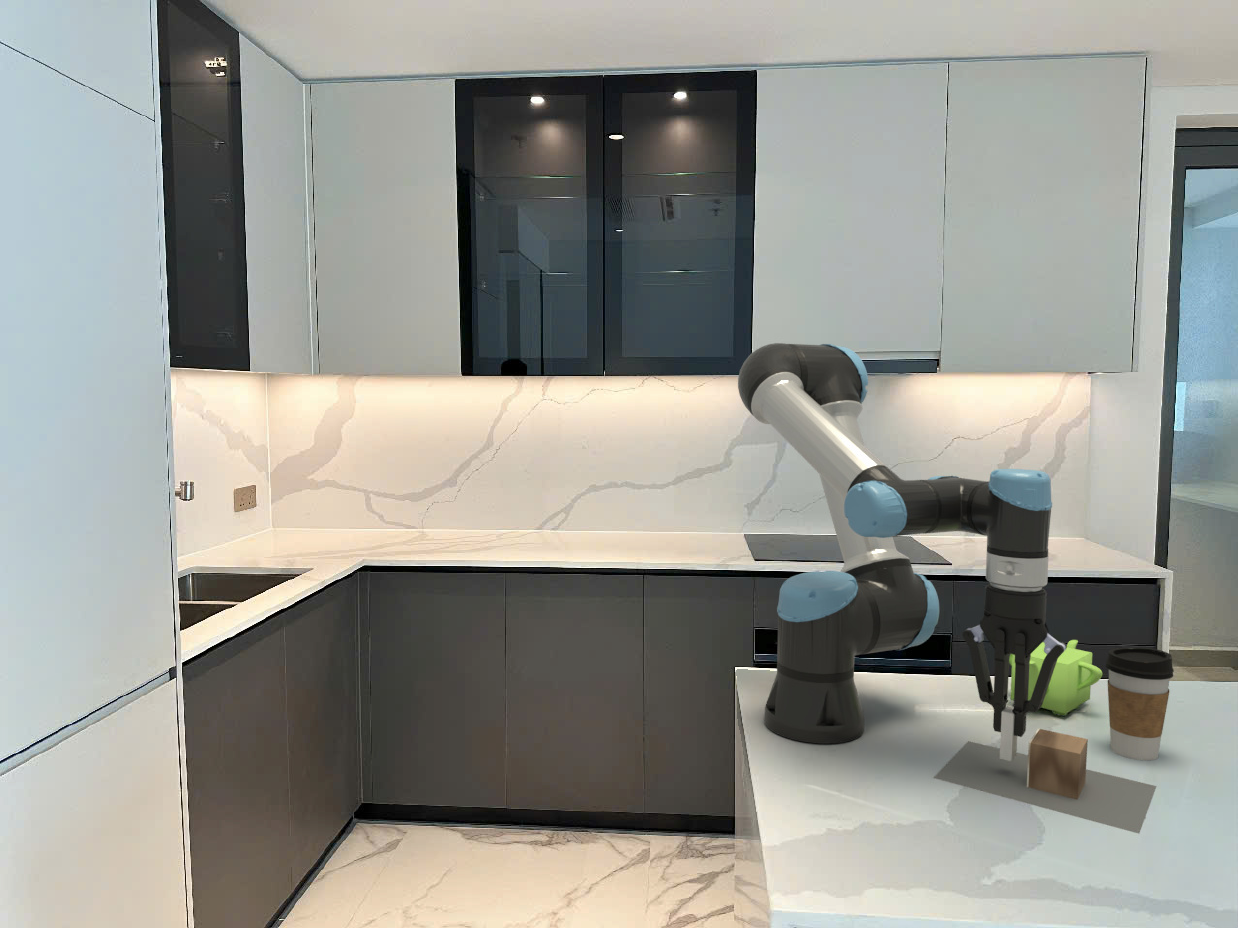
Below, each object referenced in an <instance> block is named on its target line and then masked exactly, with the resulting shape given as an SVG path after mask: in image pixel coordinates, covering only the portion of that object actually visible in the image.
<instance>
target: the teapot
mask: <svg viewBox="0 0 1238 928" xmlns="http://www.w3.org/2000/svg"><path fill="white" fill-rule="evenodd" d="M1078 642H1079V641H1078V639H1071V640H1069V641H1068V642H1067V644H1066V645H1067V648H1066V650H1065V651H1064V652H1063V653H1062V654H1061V655H1060V656H1059V658H1058V659H1057V662H1056V665H1055V668H1054V671H1053V674H1052V677H1051V680H1050V683H1049V686H1048V689H1047V692H1046V695H1045V698H1044V701H1043V704H1042V706H1041V707H1040V709H1041V708H1042V709H1046V710H1049V711H1052V714H1054V715H1056V714H1059V715H1058V716H1060V715H1065V716H1067V715H1068V713H1070V712H1071V711H1073V710H1074V709H1079V708H1080V706H1081V705H1083V704H1084V703H1086V702H1088V701H1089V700H1091V686H1092V685H1094V684H1096V683H1097V682H1099V681H1100V680H1101V678H1102V677H1103V671H1102V670H1101V668H1099V667H1097V666H1096V665H1093V652H1091V651H1085V650H1081V649H1077V645H1078V644H1079V643H1078ZM1044 647H1045V643H1044V642H1042V643H1041V644H1040V645H1039V646H1038V647H1037V648H1036V649H1035V650H1034V651H1033V652H1032V653H1031V658H1030V664H1029V687H1028V700H1031V697H1032V694H1033V691H1034V688H1035V685H1036V682H1037V679H1038V676H1039V673H1040V670H1041V666H1042V663H1043V661H1044V659H1045V657H1046V655H1047V654H1046V653H1045V652H1044ZM1009 665H1010V666H1011V679H1010V680H1011V682H1010V696H1009V697H1010V700H1011V701H1014V688H1015V655H1013V654H1010V657H1009ZM1078 707H1079V708H1078ZM1066 714H1067V715H1066Z"/></svg>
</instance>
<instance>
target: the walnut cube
mask: <svg viewBox="0 0 1238 928" xmlns="http://www.w3.org/2000/svg"><path fill="white" fill-rule="evenodd" d="M1088 740H1089V739H1088V738H1084V737H1079V736H1075V735H1070V734H1065V733H1061V732H1056V731H1052V730H1047V729H1042V728H1037V729H1036V731H1035V732H1034V735H1033V736H1032V737H1031V738H1030V740H1029V742H1028V754H1027V755H1028V771H1027V787H1029V788H1033V789H1037V790H1041V791H1045V792H1049V793H1053V794H1057V795H1061V796H1065V797H1069V798H1073V799H1077V800H1078V798H1079V796H1080V793H1081V791H1082V789H1083V787H1084V785H1085V779H1086V769H1087V762H1088V761H1087V758H1088V757H1087V756H1088Z"/></svg>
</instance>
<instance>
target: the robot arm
mask: <svg viewBox="0 0 1238 928" xmlns="http://www.w3.org/2000/svg"><path fill="white" fill-rule="evenodd" d="M868 385H869V377H868V372H867V369H866V366H865V364H864V362H863V360H862V359H861V357H860V356H859V355H858V354H857V353H856V352H855V351H854V350H852V349H850V348H848V347H846V346H840V345H834V344H832V343H822V344H802V343H799V344H798V343H783V342H781V343H780V342H779V343H778V342H775V343H769V344H766V345H763V346H760V347H758V348H757V349H755V350H754V351H752V352H751V353H750V355H748V357H747V358H746V359H745V360H744V362H743V363H742V366H741V367H740V369H739V374H738V378H737V390H738V395H739V397H740V400H741V402H742V404H743V405H744V407H745V408H746V409H747V411H748V412H749V413H750V414H751V415H752V416H753V417H754V418H755V419H756V420H757V421H758V422H760V423H762V424H765V425H771V426H772V428H774V430H776V431H777V432H778V434H780V435H781V437H782V438H784V439H785V441H787V442H788V444H789V445H790V446H791V447H792V448H794V450H796V452H797V453H798V454H799V455H800V457H802V458H803V459H804V460H805V461H806V462H807V463H808V464H809V465H810V467H812V468H813V470H815V471H816V472H817V474H819V478H820V481H821V484H822V489H823V492H824V496H825V500H826V503H827V506H828V510H829V514H830V517H831V521H832V524H833V528H834V532H835V534H836V538H837V542H838V545H839V548H840V549H839V550H840V553H841V556H842V559H843V567H842V568H841V570H840V571H838V570H824V571H820V570H814V571H808V572H803V573H799V574H795V575H793V576H790V577H789V578H787V579H786V580H784V581H783V583H782V585H781V587H780V589H779V596H778V604H777V607H776V613H777V615H778V617H777V618H778V619H777V648H776V649H777V653H776V655H777V657H776V659H777V661H776V674H775V678H774V680H773V684H772V685H771V689H770V691H769V694H768V697H767V700H766V702H765V705H764V720H763V721H764V725H765V726H766V728H768V729H769V730H771V731H772V732H773V733H775V734H776V735H779V736H782V737H784V738H788V739H790V740H795V741H798V742H799V741H800V742H803V743H805V742H806V743H813V744H840V743H846V742H849V741H850V742H851V741H853V740H855V739H857V738H859V737H861V736H862V735H863V734H864V731H865V714H864V709H863V707H862V703H861V700H860V697H859V693H858V689H857V687H856V683H855V677H854V676H855V657H856V656H859V655H867V654H874V653H879V652H886V651H893V650H895V651H903V650H905V649H908V648H912V647H917V646H920V645H922V644H924V643H925V642H927V640H929V639H930V637H931V636H932V635H933V634H934V631H935V629H936V628H935V627H936V625H938V622H939V617H940V601H939V597H938V592H937V591H936V588H935V586H934V585H933V583H932V582H931V580H928V579H927V577H926V576H924V575H923V574H920V573H917V572H914V569H913V566H912V563H911V559H910V557H908V555H905V554H903V553H901V552H900V551H898V550H897V548H896V543H895V540H894V538H893V537H898V536H899V537H900V536H910V535H911V536H912V535H921V534H923V535H924V534H927V535H928V534H938V533H939V534H940V533H951V532H963V533H970V534H975V535H976V534H977V535H981V536H986V557H985V558H986V564H985V579H986V581H987V582H989V583H987V584H986V585H985V586H984V605H983V606H984V609H983V610H984V611H983V616H982V617H981V619H980V621H979V624H978V625H976V626H971V627H968V628H967V629H964V631H962V633H961V636H962V637H963V640H964V641H965V643H966V644H967V646H968V648H969V653H970V658H971V662H972V667H973V672H974V676H975V681H976V682H975V683H976V686H977V691H978V697H979V700H980V701H981V702H982V703H987V704H989V705H991V707H992V709H993V719H992V721H993V723H992V724H993V725H992V728H993V730H994V732H997V733H1000V739H999V740H1000V742H999V743H1000V746H999V748H1000V759H1004V760H1008V761H1012V760H1013V759H1014V757H1015V756H1016V754H1017V753H1018V749H1017V748H1018V737H1020V738H1022V737H1023V736H1024V734H1025V733H1026V731H1027V713H1036V712H1038V711H1039V710H1040V709H1041V706H1042V704H1043V701H1044V698H1045V695H1046V692H1047V689H1048V686H1049V683H1050V680H1051V677H1052V674H1053V671H1054V668H1055V665H1056V662H1057V659H1058V658H1059V656H1060V655H1061V654H1062V653H1063V652H1064V651H1065V650H1066V648H1067V644H1066V643H1065V642H1064V641H1058V640H1057V639H1056V638H1054V637H1053V636H1052V635H1051V634H1050V629H1049V627H1048V624H1047V622H1046V619H1047V618H1046V616H1047V614H1046V613H1047V595H1048V593H1047V590H1045V588H1044V587H1045V586H1047V584H1048V580H1049V579H1048V577H1049V574H1048V573H1049V570H1048V569H1049V538H1050V525H1051V518H1052V517H1051V514H1052V508H1053V501H1052V482H1051V477H1050V475H1049V474H1047V472H1045V471H1042V470H1037V469H1022V468H999V469H998V468H997V469H993V470H992V471H991V473H990V474H989V481H987V480H978V479H971V478H965V477H963V478H962V477H959V476H957V475H948V476H947V475H935V476H934V475H933V476H931V477H929V478H928V479H914V480H913V479H912V480H906V479H905V480H904V479H903V478H901V477H899V476H898V475H897V474H896V473H895V472H894V471H892V470H891V468H889V467H888V466H887V465H886V464H885V463H883V462H882V461H881V460H880V459H879V458H878V457H877V456H876V455H875V454H873V452H871V451H870V450H869V449H868V448H867V447H866V446H865V443H864V439H863V435H862V432H861V429H860V427H859V423H858V418H859V416H860V414H861V413H862V411H863V403H864V400H866V397H867V394H868V389H867V388H866V387H867V386H868ZM985 637H986V639H987V640H988V641H989V643H990V645H991V647H992V648H993V649H994V679H993V683H992V679H991V674H990V668H989V665H988V660H987V654H986V651H985V646H984V642H983V641H984V639H985ZM1042 642H1044V643H1045V647H1044V652H1045V653H1046V654H1047V655H1046V657H1045V659H1044V661H1043V663H1042V666H1041V670H1040V673H1039V676H1038V679H1037V682H1036V685H1035V688H1034V691H1033V694H1032V697H1031V700H1028V687H1029V664H1030V658H1031V653H1032V652H1033V651H1034V650H1035V649H1036V648H1037V647H1038V646H1039V645H1040V644H1041V643H1042ZM1010 654H1013V655H1015V688H1014V700H1013V706H1009V705H1007V704H1008V703H1009V699H1008V697H1009V696H1008V694H1009V693H1008V692H1009V677H1010V676H1009V671H1010V663H1009V657H1010Z"/></svg>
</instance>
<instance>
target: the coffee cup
mask: <svg viewBox="0 0 1238 928" xmlns="http://www.w3.org/2000/svg"><path fill="white" fill-rule="evenodd" d="M1173 667H1174V666H1173V658H1172V654H1171V653H1169V652H1166V651H1163V650H1160V649H1156V648H1152V647H1151V648H1150V647H1117V648H1116V647H1115V648H1112V649H1109V651H1108V653H1107V659H1106V660H1105V668H1106V669H1107V670H1108V679H1107V680H1106V681H1107V682H1106V683H1107V699H1108V716H1109V717H1108V718H1109V719H1108V720H1109V734H1110V739H1109V740H1110V750H1111V751H1113V753H1115V754H1116V755H1119V756H1122V757H1125V758H1126V759H1127V758H1128V759H1132V760H1137V761H1154V760H1156V759H1158V758H1159V755H1160V754H1159V753H1160V752H1159V751H1160V747H1161V746H1160V745H1161V739H1162V734H1163V731H1164V724H1165V718H1166V713H1167V707H1168V702H1169V697H1170V689H1169V687H1170V679H1173V677H1174V672H1175V670H1174V668H1173Z"/></svg>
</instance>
